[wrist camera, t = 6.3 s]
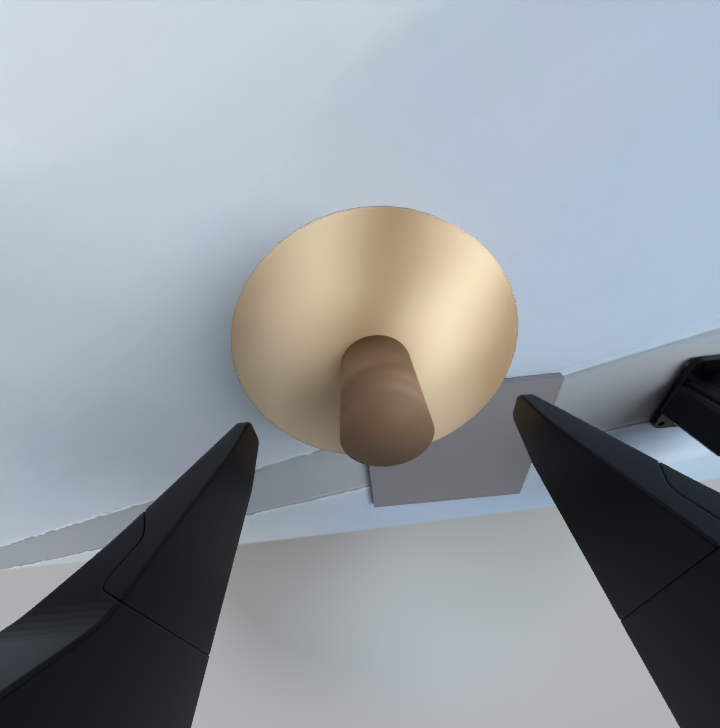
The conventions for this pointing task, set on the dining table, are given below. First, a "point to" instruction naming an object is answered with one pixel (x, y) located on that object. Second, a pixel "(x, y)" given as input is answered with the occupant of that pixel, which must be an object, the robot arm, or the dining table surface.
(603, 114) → the dining table surface
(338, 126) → the dining table surface
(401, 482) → the rubber mat
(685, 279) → the dining table surface
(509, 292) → the oak lid
